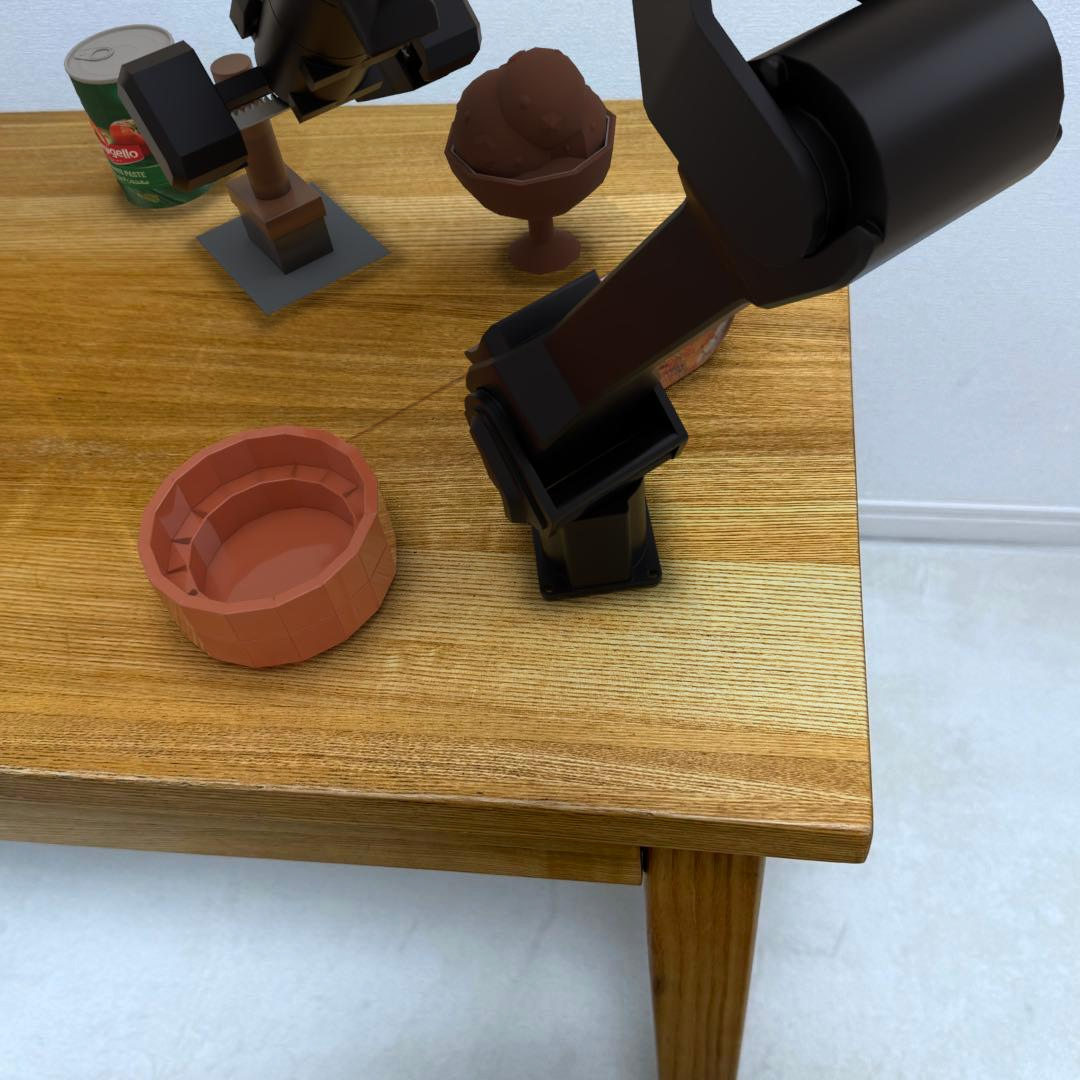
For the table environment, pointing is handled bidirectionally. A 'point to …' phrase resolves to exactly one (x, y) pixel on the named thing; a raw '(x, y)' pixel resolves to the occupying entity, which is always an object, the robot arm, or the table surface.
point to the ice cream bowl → (532, 150)
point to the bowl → (269, 545)
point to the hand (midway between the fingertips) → (288, 123)
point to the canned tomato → (123, 111)
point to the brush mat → (281, 289)
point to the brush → (274, 192)
